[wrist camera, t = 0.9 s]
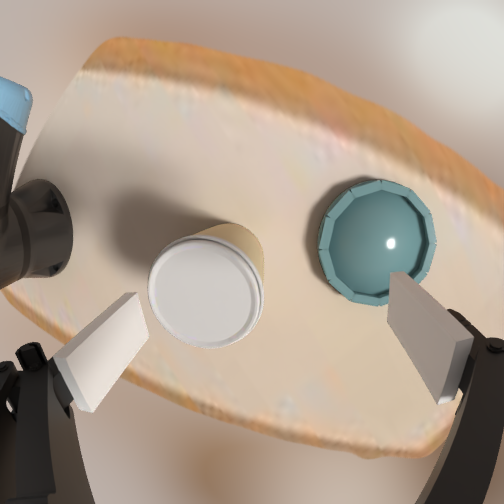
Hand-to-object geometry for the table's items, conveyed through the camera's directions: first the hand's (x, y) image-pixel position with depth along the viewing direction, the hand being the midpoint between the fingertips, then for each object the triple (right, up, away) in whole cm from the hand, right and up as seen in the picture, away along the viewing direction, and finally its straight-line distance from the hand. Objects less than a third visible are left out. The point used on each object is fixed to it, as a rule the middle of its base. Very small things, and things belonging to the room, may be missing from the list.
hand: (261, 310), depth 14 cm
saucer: (+14, +4, +16) cm, 22 cm away
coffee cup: (-3, +2, +19) cm, 19 cm away
